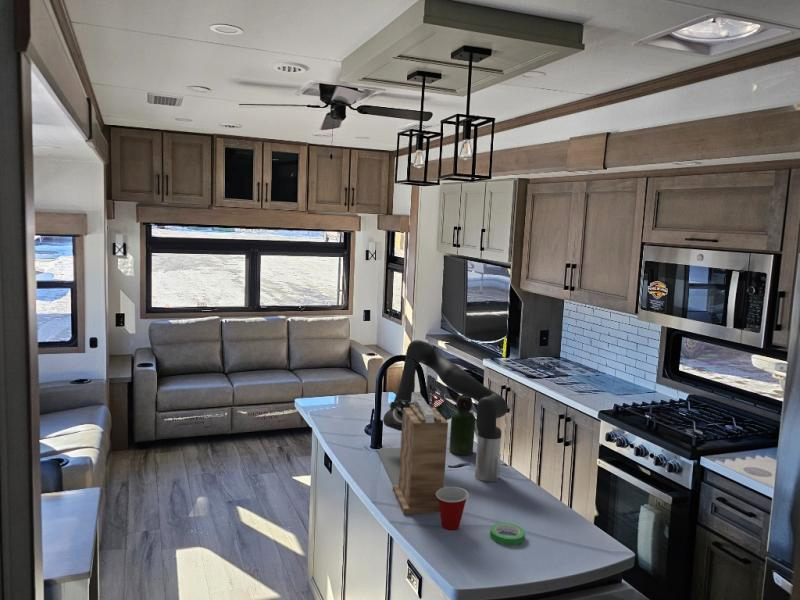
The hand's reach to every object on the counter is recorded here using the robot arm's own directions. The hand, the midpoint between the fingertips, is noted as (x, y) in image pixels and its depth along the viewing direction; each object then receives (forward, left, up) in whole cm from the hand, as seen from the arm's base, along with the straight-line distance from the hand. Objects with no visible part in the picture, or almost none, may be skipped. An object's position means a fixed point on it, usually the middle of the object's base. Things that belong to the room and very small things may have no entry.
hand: (411, 402), depth 255 cm
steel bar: (-8, +13, +1) cm, 16 cm away
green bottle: (-12, -39, -31) cm, 51 cm away
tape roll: (-44, +32, -31) cm, 63 cm away
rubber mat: (+6, -10, -31) cm, 33 cm away
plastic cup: (-25, +33, -31) cm, 52 cm away
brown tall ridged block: (-10, +18, -31) cm, 37 cm away
